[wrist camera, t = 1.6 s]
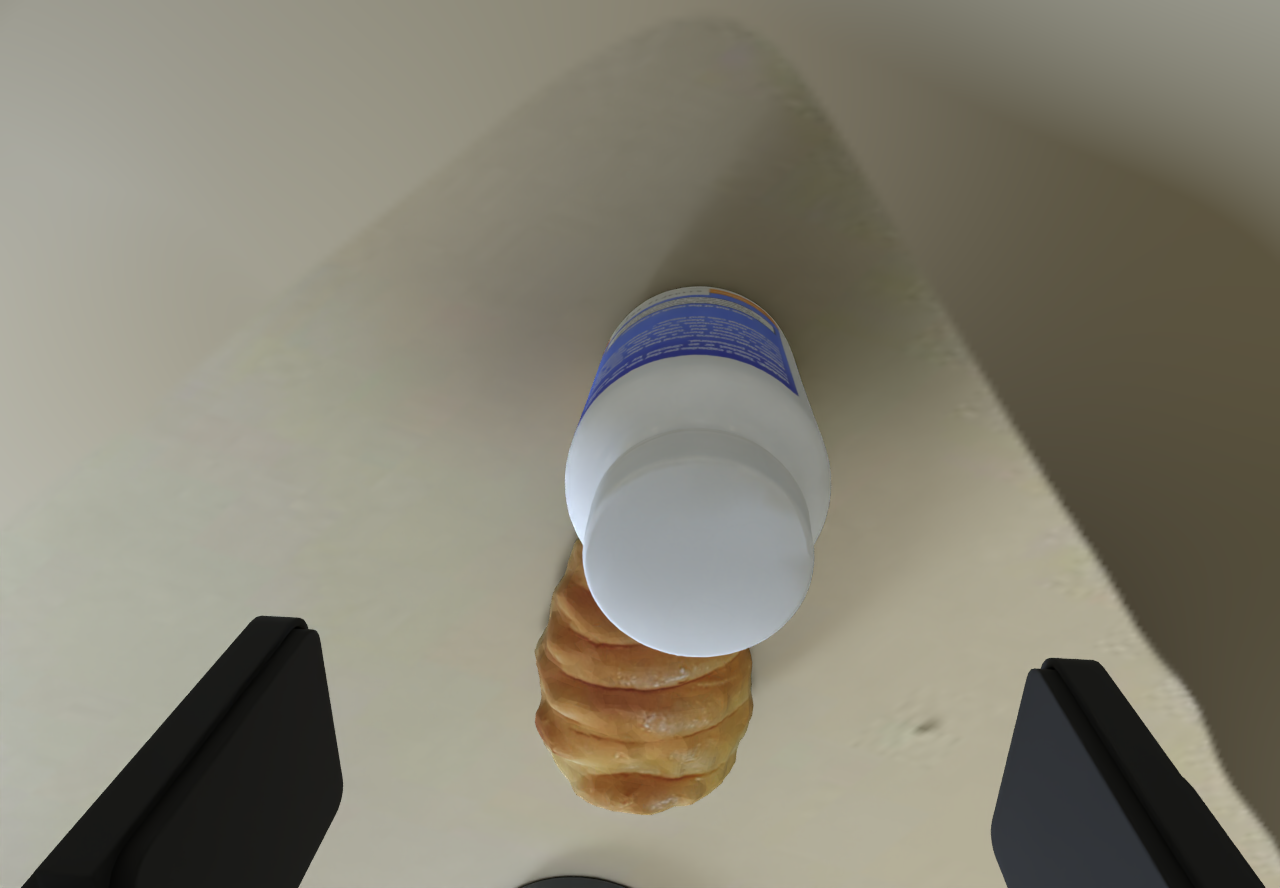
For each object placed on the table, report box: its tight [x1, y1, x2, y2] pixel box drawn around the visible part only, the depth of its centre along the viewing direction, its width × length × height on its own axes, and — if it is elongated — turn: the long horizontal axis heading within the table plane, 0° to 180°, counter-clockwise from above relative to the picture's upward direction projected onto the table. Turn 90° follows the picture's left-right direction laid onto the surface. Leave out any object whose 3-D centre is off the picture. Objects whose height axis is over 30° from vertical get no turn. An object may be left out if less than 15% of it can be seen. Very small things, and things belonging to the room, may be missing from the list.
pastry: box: [535, 539, 753, 815], centre depth 24 cm, size 9×7×4 cm
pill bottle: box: [565, 286, 831, 657], centre depth 18 cm, size 5×5×10 cm
